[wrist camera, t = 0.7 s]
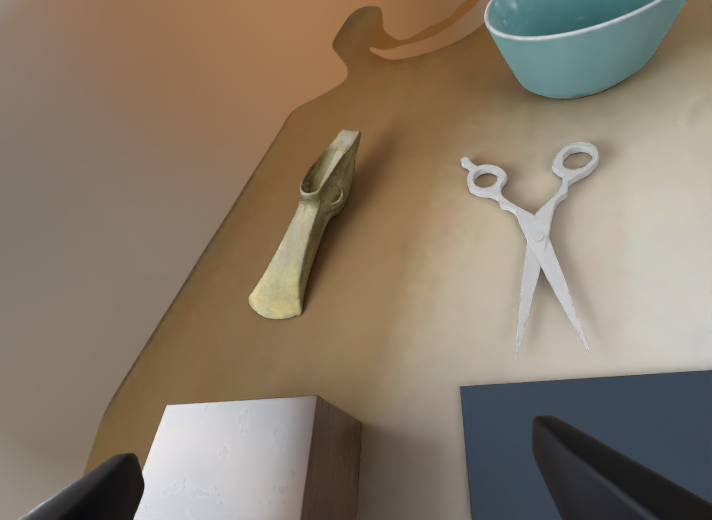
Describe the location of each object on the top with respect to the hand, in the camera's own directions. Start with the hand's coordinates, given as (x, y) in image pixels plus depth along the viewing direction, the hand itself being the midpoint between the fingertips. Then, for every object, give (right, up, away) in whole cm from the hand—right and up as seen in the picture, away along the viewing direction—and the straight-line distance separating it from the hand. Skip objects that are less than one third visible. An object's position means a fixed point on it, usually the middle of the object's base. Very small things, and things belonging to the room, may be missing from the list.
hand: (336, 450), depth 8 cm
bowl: (+23, +23, +28) cm, 43 cm away
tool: (-3, +8, +32) cm, 33 cm away
